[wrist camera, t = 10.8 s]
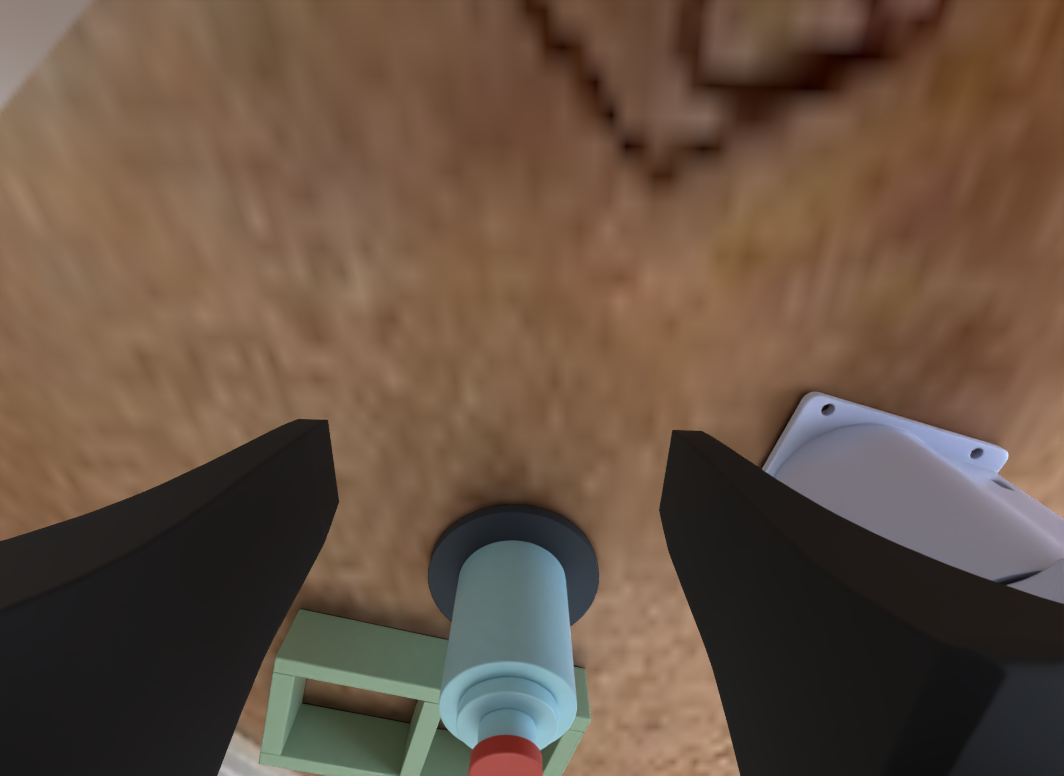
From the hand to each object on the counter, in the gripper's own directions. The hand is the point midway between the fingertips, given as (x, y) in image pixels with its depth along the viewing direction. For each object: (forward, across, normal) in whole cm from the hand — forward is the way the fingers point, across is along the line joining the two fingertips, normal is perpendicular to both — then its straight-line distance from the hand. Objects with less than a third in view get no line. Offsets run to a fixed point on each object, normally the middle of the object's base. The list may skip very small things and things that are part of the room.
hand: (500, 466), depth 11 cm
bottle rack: (+10, +4, +21) cm, 23 cm away
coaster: (+10, 0, +12) cm, 16 cm away
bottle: (+9, 0, +12) cm, 15 cm away
